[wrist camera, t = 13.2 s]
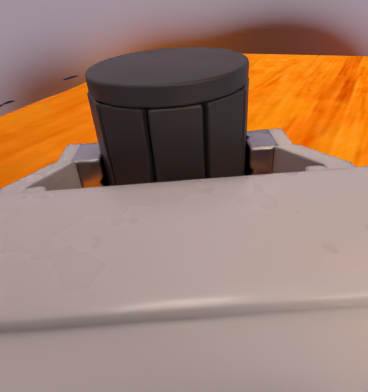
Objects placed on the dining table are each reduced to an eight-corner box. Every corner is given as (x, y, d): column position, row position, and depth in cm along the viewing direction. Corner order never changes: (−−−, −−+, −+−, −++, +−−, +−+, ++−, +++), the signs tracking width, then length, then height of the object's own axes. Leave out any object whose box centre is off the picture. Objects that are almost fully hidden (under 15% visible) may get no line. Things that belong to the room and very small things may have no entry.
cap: (104, 254, 15) (53, 69, 10) (188, 204, 18) (176, 42, 13) (177, 323, 12) (148, 99, 7) (265, 250, 14) (284, 55, 10)
